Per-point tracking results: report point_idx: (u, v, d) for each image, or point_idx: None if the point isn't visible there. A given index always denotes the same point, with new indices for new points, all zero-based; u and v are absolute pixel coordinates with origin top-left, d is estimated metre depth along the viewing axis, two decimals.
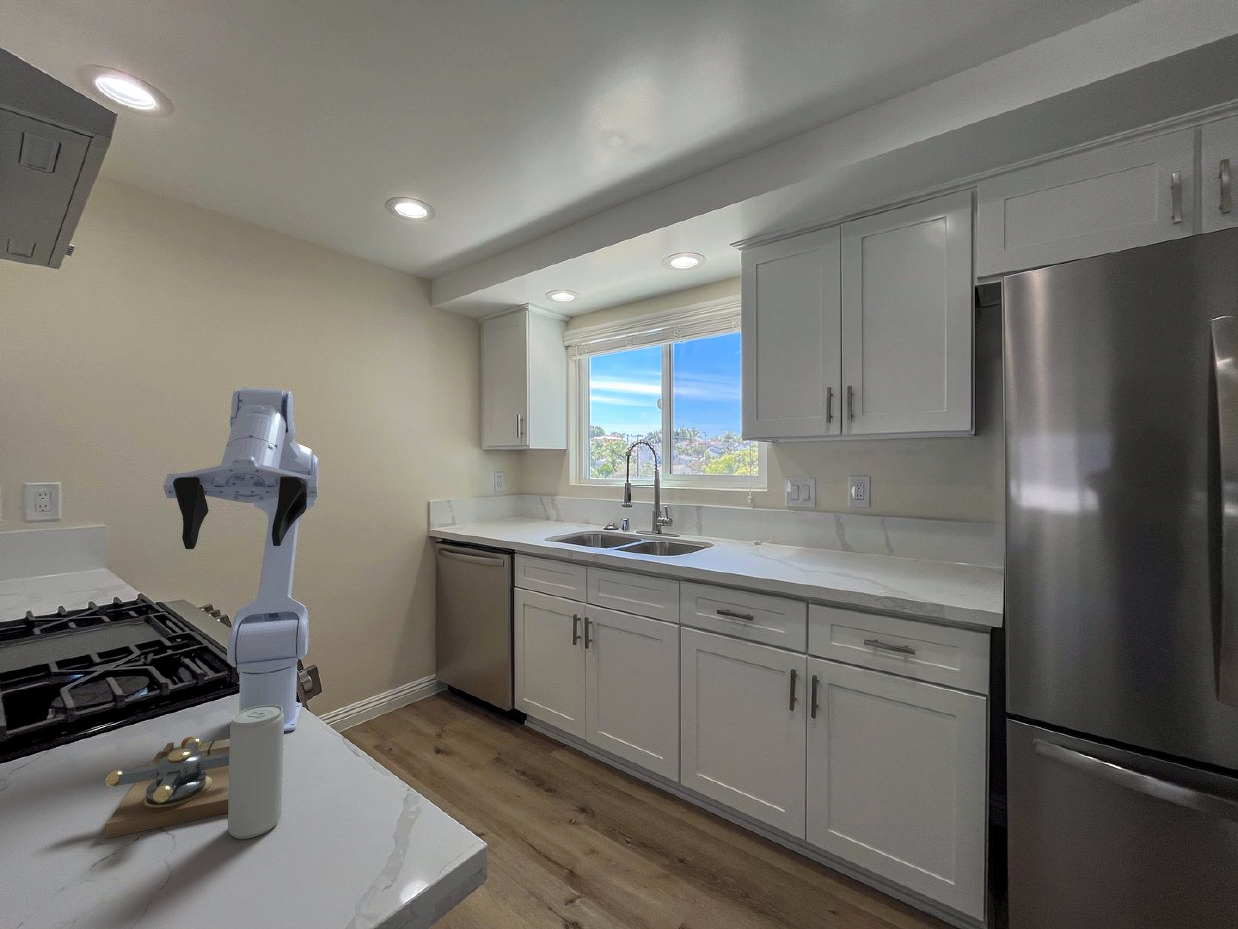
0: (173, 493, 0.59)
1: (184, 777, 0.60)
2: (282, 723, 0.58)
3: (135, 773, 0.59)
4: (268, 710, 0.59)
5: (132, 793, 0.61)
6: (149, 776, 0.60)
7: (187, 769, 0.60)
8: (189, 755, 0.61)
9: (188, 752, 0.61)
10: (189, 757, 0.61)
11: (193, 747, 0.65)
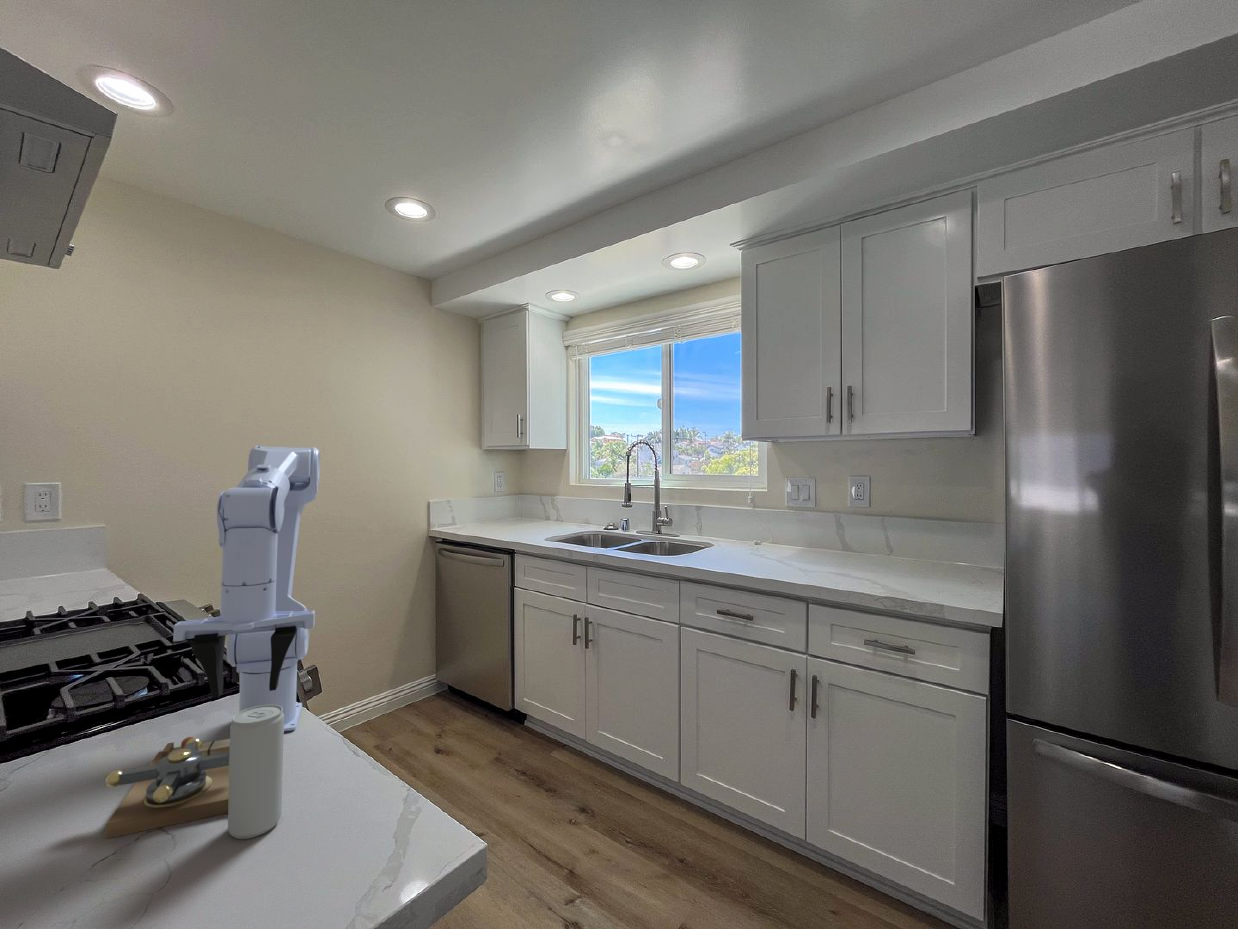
0: None
1: (184, 777, 0.60)
2: (282, 723, 0.58)
3: (135, 773, 0.59)
4: (268, 710, 0.59)
5: (132, 793, 0.61)
6: (149, 776, 0.60)
7: (187, 769, 0.60)
8: (189, 755, 0.61)
9: (188, 752, 0.61)
10: (189, 757, 0.61)
11: (193, 747, 0.65)
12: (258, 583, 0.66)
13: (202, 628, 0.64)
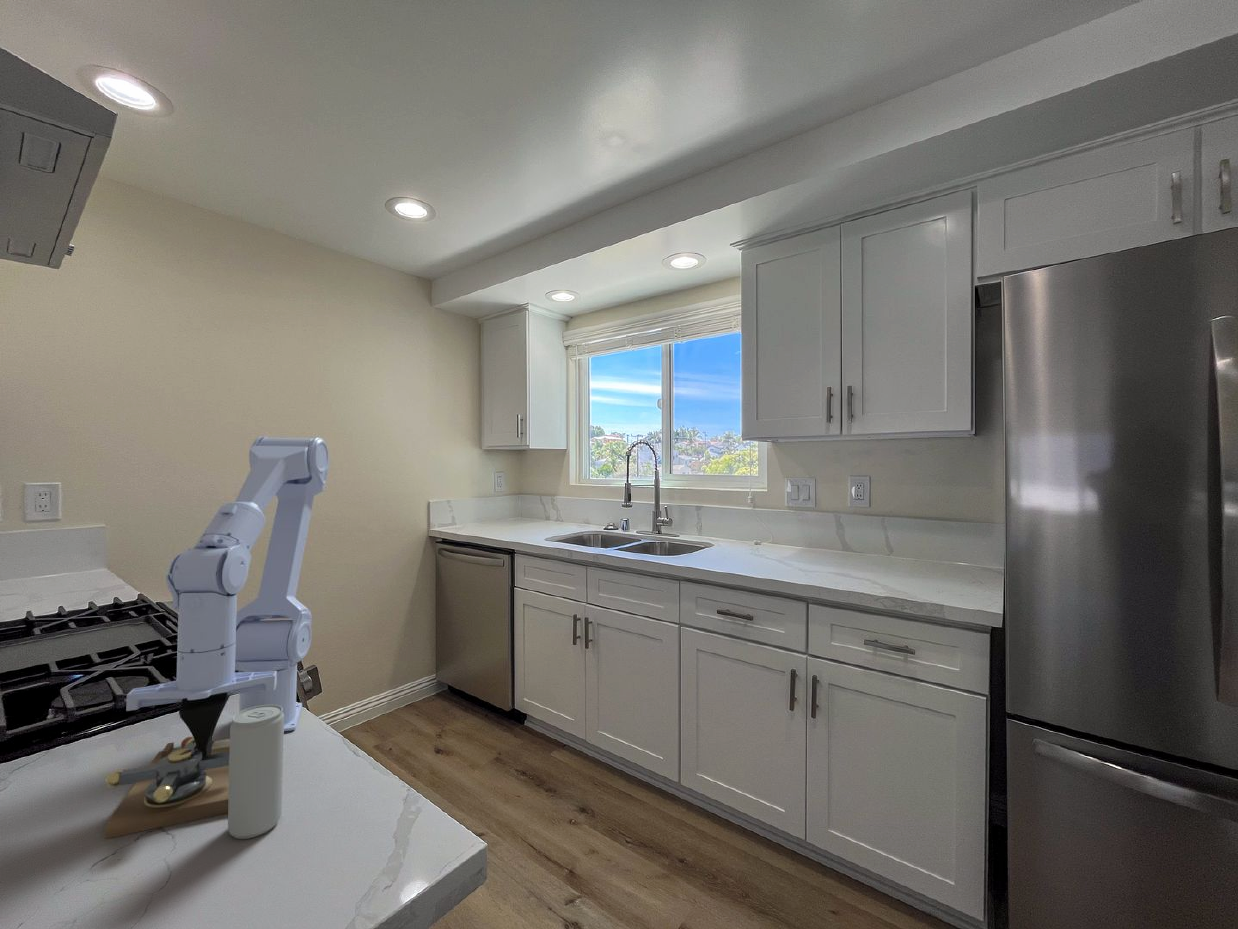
0: None
1: (184, 777, 0.60)
2: (282, 723, 0.58)
3: (135, 773, 0.59)
4: (268, 710, 0.59)
5: (132, 793, 0.61)
6: (149, 776, 0.60)
7: (187, 769, 0.60)
8: (189, 755, 0.61)
9: (188, 752, 0.61)
10: (189, 757, 0.61)
11: (193, 747, 0.65)
12: (215, 649, 0.64)
13: (156, 697, 0.63)
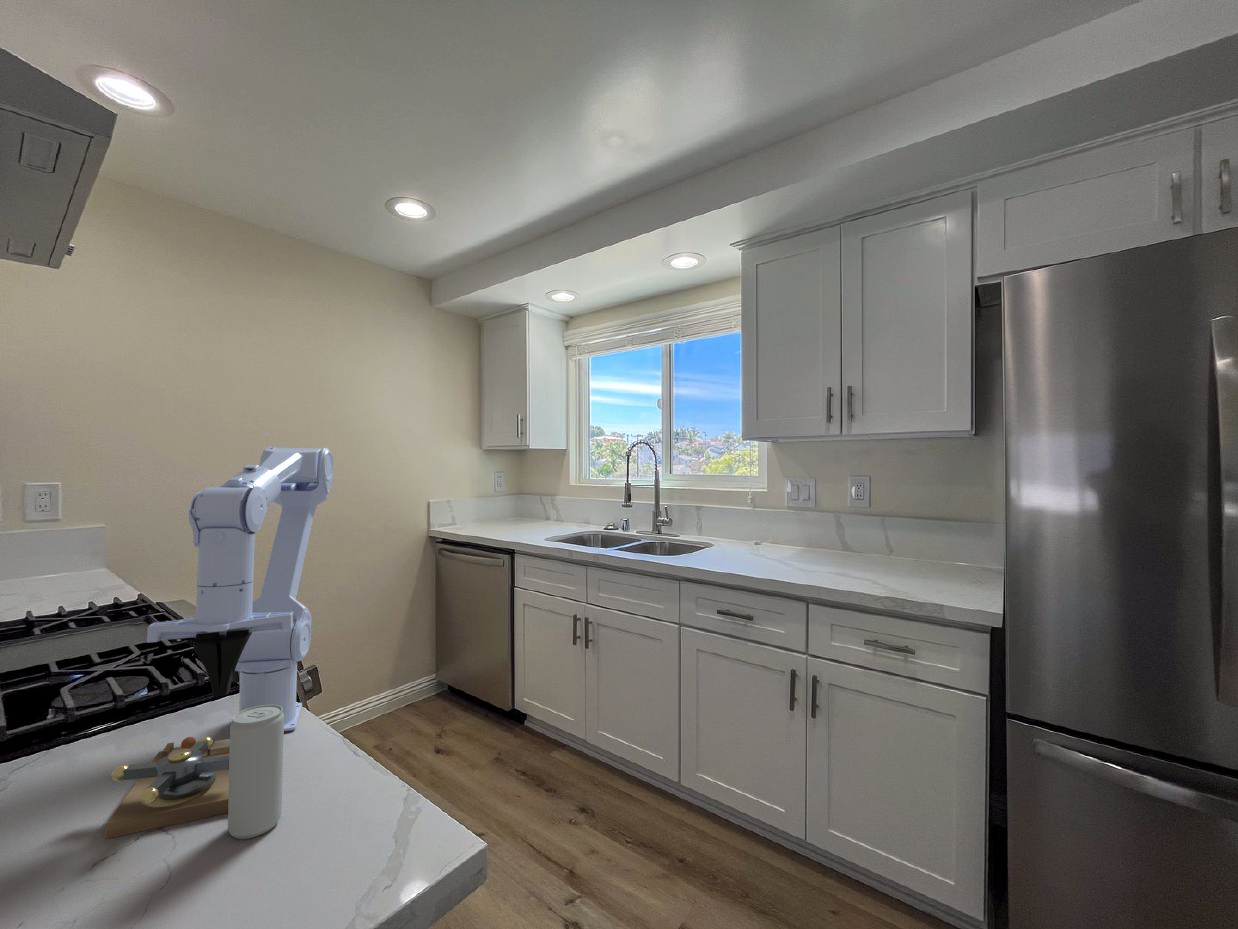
0: None
1: None
2: (282, 723, 0.58)
3: (165, 781, 0.58)
4: (268, 710, 0.59)
5: (132, 793, 0.61)
6: (172, 780, 0.59)
7: None
8: None
9: (185, 749, 0.62)
10: None
11: (145, 764, 0.61)
12: (234, 584, 0.66)
13: (176, 629, 0.64)
